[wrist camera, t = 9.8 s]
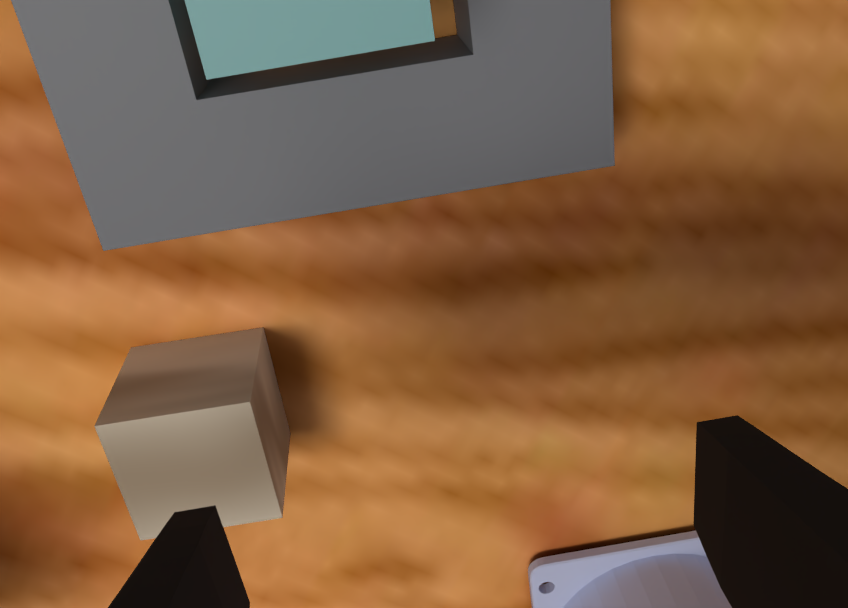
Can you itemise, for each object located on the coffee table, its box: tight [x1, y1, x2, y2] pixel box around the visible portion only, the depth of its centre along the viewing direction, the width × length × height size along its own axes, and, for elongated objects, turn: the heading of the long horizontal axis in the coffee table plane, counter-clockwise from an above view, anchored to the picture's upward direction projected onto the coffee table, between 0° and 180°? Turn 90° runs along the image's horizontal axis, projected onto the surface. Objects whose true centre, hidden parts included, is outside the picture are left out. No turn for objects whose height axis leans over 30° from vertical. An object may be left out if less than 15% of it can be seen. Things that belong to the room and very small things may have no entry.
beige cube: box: [95, 327, 290, 540], centre depth 20 cm, size 4×4×4 cm
